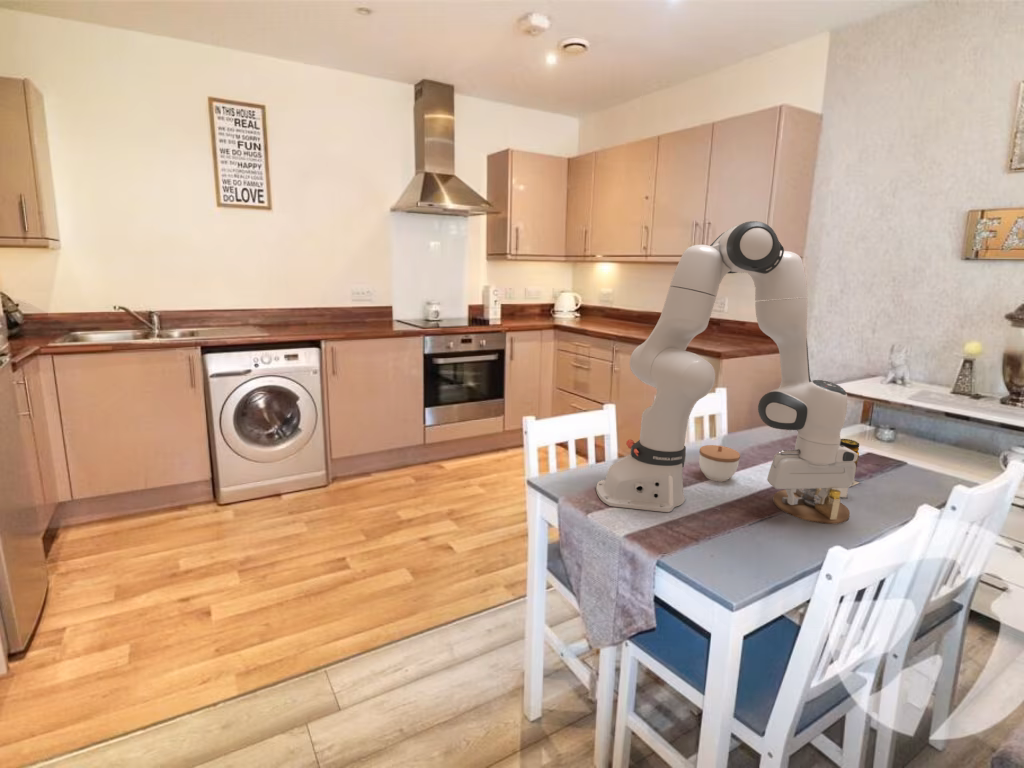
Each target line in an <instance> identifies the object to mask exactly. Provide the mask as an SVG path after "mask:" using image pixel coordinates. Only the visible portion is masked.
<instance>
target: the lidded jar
mask: <svg viewBox="0 0 1024 768" xmlns="http://www.w3.org/2000/svg"><path fill="white" fill-rule="evenodd" d="M740 458H741V454H740V452H738V451H737V450H735V449H734V448H731V447H727V446H725V445H724V446H723V445H716V444H715V445H714V444H707V445H703V446H701V447H699V457H698V463H699V464H698V465H699V469H700V470H701V472H702V473H703V475H704V476H705V478H707V480H711V481H714V482H719V483H720V482H726V481H727V482H728V480H729V479H730V478H732V477H733V476H735V474H736V472H737V470H738V467H739V463H740Z"/></svg>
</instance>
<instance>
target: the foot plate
mask: <svg viewBox="0 0 1024 768" xmlns="http://www.w3.org/2000/svg"><path fill="white" fill-rule="evenodd" d="M793 493H794V492H793ZM794 496H795V497H801V496H799V495H798V494H797V493H794ZM782 497H788V495H787V492H786V490H785V489H781V490H779V491H776V492H775V493H774V495H773V500H772V501H773V504H774V505H775V506H776V508H778V510H780V511H782V512H784V513H785V514H788V515H790V516H791V517H792V516H793V517H795V518H797V519H800V520H803V521H807V522H811V523H816V524H825V525H836V524H837V525H838V524H842V523H843V524H844V523H845V522H847V521H848V520H849V518H850V510H849V508H848V507H847V506H846V505H845V504H844V503H842V502H840V504H839V509H838V514H837V519H829V518H827V517H826V516H825V515H823V514H822V513H821V512H820V511H818V510H817V509H816V508H813V507H810V506H807V505H805V504H797V505H790V504H784V503H783V502H782Z"/></svg>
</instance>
